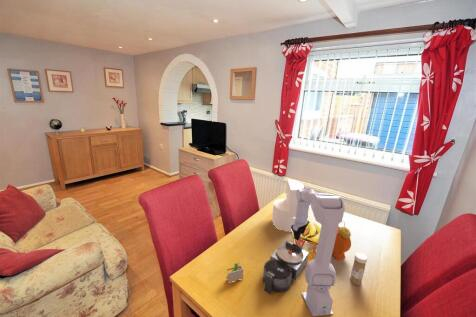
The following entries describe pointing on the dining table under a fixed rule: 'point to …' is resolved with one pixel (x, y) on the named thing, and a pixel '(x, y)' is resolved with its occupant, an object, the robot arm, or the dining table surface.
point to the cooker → (281, 273)
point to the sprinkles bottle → (358, 268)
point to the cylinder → (286, 207)
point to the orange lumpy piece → (341, 242)
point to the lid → (290, 253)
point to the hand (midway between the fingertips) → (299, 236)
